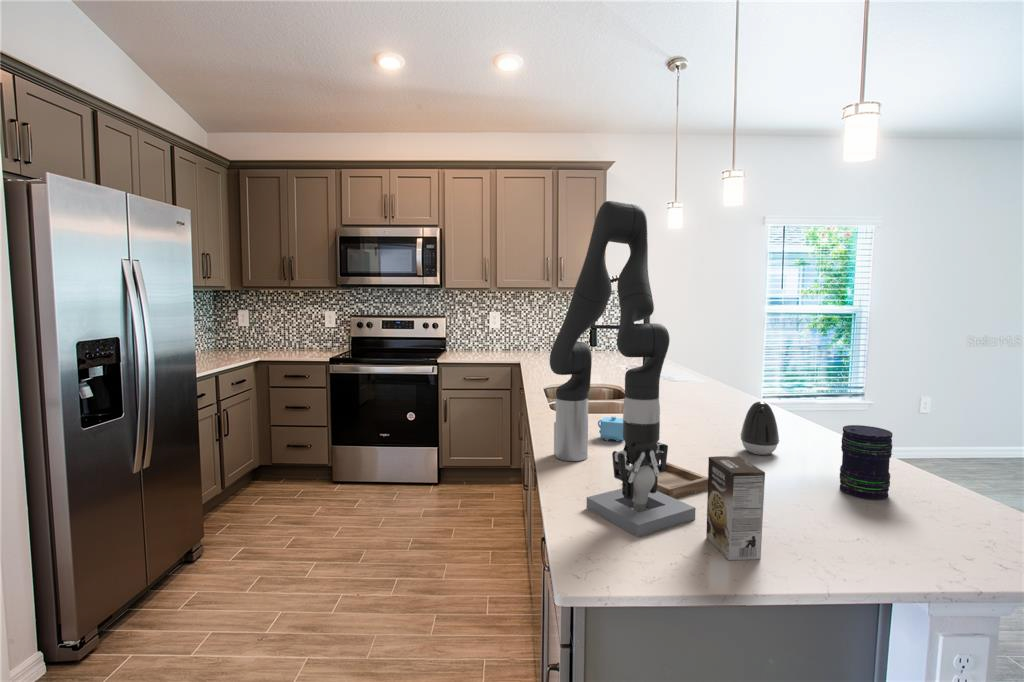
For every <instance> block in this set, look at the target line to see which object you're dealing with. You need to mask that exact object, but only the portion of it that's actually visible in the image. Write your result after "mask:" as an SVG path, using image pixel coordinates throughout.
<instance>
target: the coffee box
mask: <svg viewBox="0 0 1024 682" xmlns="http://www.w3.org/2000/svg"><path fill="white" fill-rule="evenodd" d="M707 470H708V471H707V477H708V489H707V498H706V499H707V503H706V506H707V507H706V539H707V540H709V542H710V543H711V544H712V545H713V546H714V547H715V548H716V549H717V550H718V551H719V552H720V553H721V554H722V555H723V556H724V557H725V559H727V561H744V560H746V561H747V560H748V561H749V560H761V558H762V557H761V556H762V541H763V540H762V537H763V536H762V535H763V523H764V521H763V519H764V500H765V480H766V471H764V470H762V469H760V468H758V467H757V466H756V465H754V464H752V463H750V461H748V460H746V459H744V458H742V456H741V457H740V456H727V455H724V456H723V455H722V456H708V467H707Z"/></svg>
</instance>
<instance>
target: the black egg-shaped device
mask: <svg viewBox="0 0 1024 682" xmlns="http://www.w3.org/2000/svg"><path fill="white" fill-rule="evenodd" d="M740 440H741V443H742V445H743V448H744V449H745V450H746V451H747V452H749V453H751V454H753V455H757V456H758V455H759V456H767V455H770V454H772V453H774V451H776V449H777V447H778V444H779V443H780V435H779V428H778V424H777V421H776V417H775V413H774V411H773V409H772V408H771V406H770V405H769V404H768V403H766V402H765V401H756V402H754V403H752V404H751V405H750V407H749V409H748V411H747V412H746V414H745V418H744V420H743V424H742V428H741V432H740Z"/></svg>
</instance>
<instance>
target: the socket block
mask: <svg viewBox="0 0 1024 682" xmlns="http://www.w3.org/2000/svg"><path fill="white" fill-rule="evenodd" d="M631 507H633V501H632V499H631V500H628V499H626V498H625V497H624V496H623V494H622V488H619V489H615V490H610V491H607V492H603V493H598V494H595V495H590V496H587V497H586V509H587V510H588V511H591V512H593V513H594V514H596V515H597V516H599V517H601V518H604V519H605V520H606V521H608V522H611V523H612V524H614V525H615V526H617V527H619V528H620V529H623V530H624V531H626V532H628V533H629V534H631V535H634V536H635V537H637V538H640V537H644V536H647V535H650V534H653V533H657V532H659V531H662V530H665V529H668V528H671V527H675V526H678V525H682V524H685V523H688V522H690V521H693V520H696V506H693V505H690V504H688V503H686V502H684V501H682V500H679V499H678V498H672V497H670V496H668V495H665V494H663V493H661V492H658V491H656V493H650V492H649V494H648V499H647V503H646V508H647V507H648V509H647V510H646V511H643V512H637V511H635V510H634V508H631Z"/></svg>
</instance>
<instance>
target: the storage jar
mask: <svg viewBox="0 0 1024 682" xmlns="http://www.w3.org/2000/svg"><path fill="white" fill-rule="evenodd" d="M892 438H893V432H892V431H890V430H888V429H885V428H881V427H877V426H869V425H860V424H856V425H855V424H853V425H852V424H849V425H845V426H842V436H841V446H840V448H841V451H842V457H841V459H842V460H841V465H840V466H839V467H840V468H839V484H840V485H839V490H840V491H841V492H842V493H843V494H846V495H848V496H851V497H853V498H857V499H862V500H868V501H885V500H887V499H889V490H890V487H891V473H890V459H891V458H892V455H893V453H892V452H893V439H892Z"/></svg>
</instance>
